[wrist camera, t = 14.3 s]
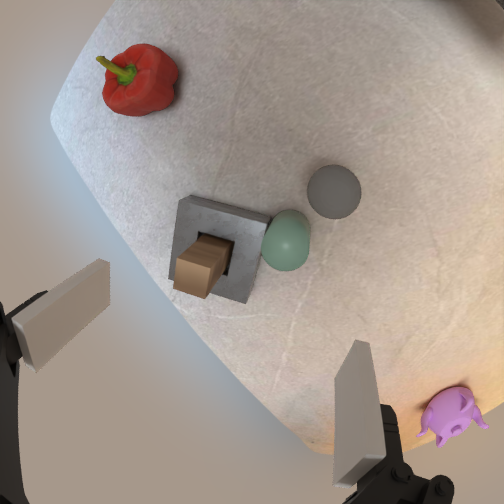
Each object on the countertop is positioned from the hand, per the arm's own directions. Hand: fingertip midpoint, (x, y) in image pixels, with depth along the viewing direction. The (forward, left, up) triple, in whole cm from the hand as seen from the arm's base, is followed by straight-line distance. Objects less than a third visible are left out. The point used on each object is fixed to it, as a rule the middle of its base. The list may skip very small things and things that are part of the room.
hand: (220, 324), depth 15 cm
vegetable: (-13, -22, -29) cm, 39 cm away
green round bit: (+3, +2, -29) cm, 29 cm away
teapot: (+28, +44, -29) cm, 60 cm away
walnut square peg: (+8, -7, -29) cm, 31 cm away
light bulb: (-5, +6, -29) cm, 30 cm away
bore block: (+8, -7, -29) cm, 31 cm away
